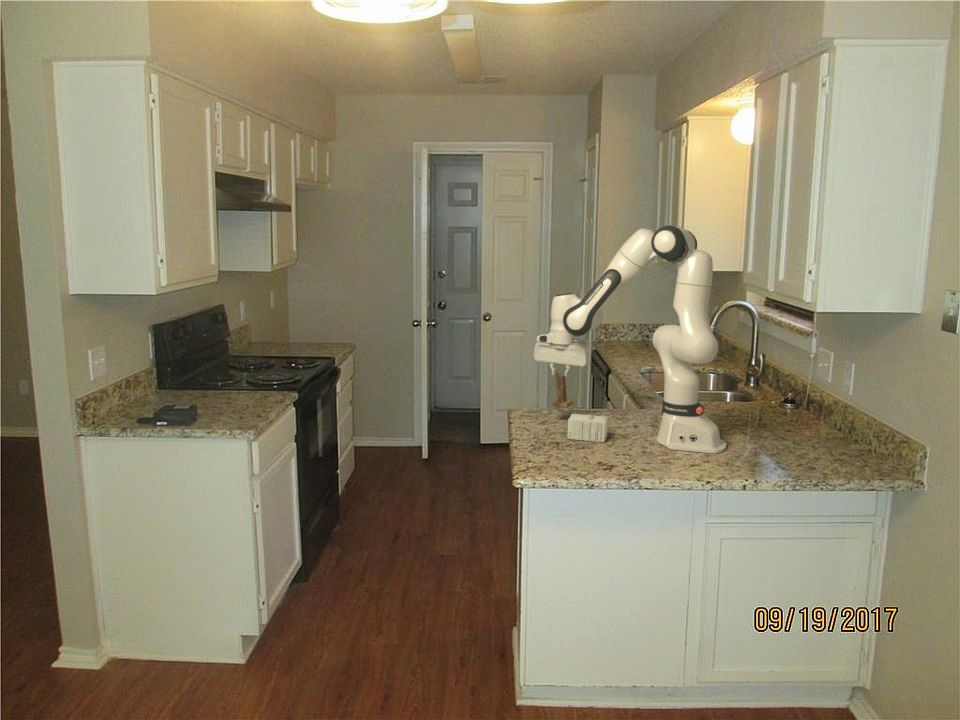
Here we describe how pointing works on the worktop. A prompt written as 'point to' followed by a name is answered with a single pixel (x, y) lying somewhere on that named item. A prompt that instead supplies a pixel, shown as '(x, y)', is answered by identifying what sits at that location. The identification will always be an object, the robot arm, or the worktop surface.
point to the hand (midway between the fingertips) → (560, 375)
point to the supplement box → (587, 427)
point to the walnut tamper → (561, 393)
